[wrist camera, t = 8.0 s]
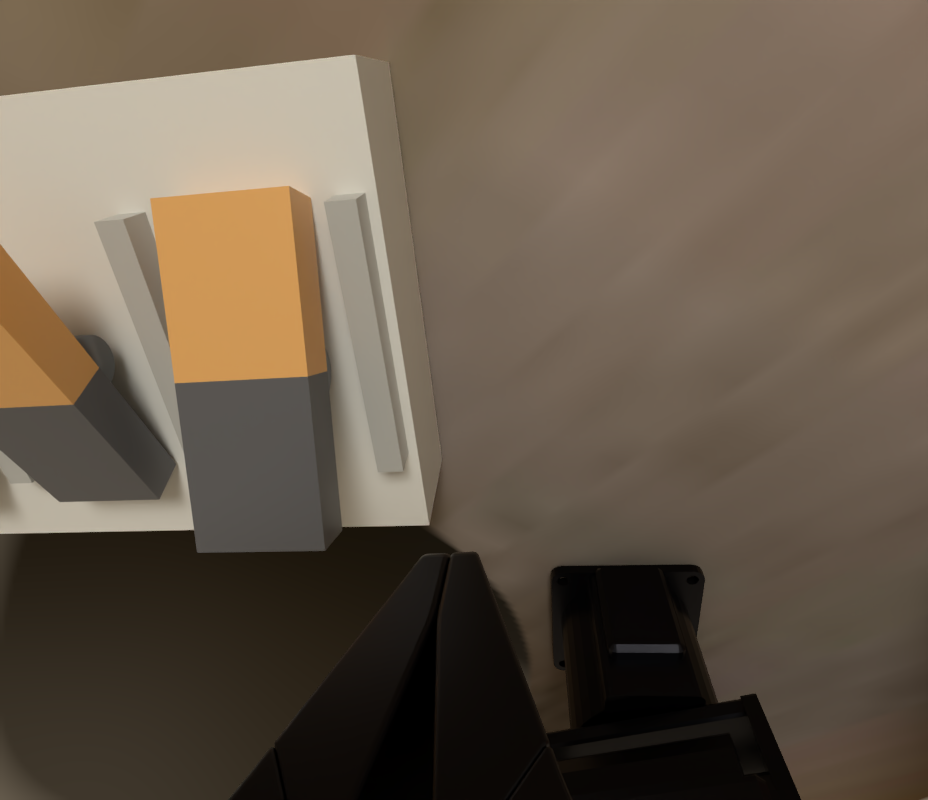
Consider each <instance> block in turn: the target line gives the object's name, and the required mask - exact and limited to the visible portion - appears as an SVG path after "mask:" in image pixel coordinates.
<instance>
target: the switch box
mask: <svg viewBox="0 0 928 800" xmlns="http://www.w3.org/2000/svg"><path fill="white" fill-rule="evenodd" d="M281 186H290V187H292V188H294V189H296V190H297V191H299V192H301V193H303V194H305V195H307V196H308V197H310V198H311V204H312V214H313V225H314V235H315V246H316V256H317V267H318V278H319V288H320V299H321V309H322V320H323V330H324V341H325V348H326V350H327V352H328V355H329V359H330V365H331V385H330V390H329V394H330V405H331V415H332V426H333V436H334V447H335V457H336V468H337V479H338V489H339V500H340V510H341V521H342V527H364V526H365V527H367V526H415V525H416V526H419V525H429V524H430V519H431V514H432V509H433V504H434V499H435V494H436V489H437V484H438V479H439V474H440V468H441V463H442V454H441V446H440V439H439V431H438V424H437V417H436V409H435V402H434V394H433V387H432V379H431V372H430V364H429V357H428V349H427V342H426V334H425V327H424V320H423V312H422V305H421V297H420V290H419V282H418V275H417V267H416V260H415V252H414V245H413V237H412V230H411V223H410V215H409V208H408V200H407V193H406V185H405V178H404V170H403V163H402V155H401V148H400V140H399V133H398V126H397V118H396V111H395V103H394V96H393V88H392V81H391V73H390V66H389V62H387V61H382V60H378V59H373V58H368V57H364V56H359V55H348V56H340V57H331V58H322V59H314V60H305V61H297V62H288V63H280V64H271V65H262V66H254V67H245V68H237V69H228V70H219V71H211V72H202V73H194V74H185V75H177V76H168V77H159V78H151V79H142V80H134V81H125V82H117V83H108V84H99V85H91V86H82V87H74V88H65V89H57V90H48V91H39V92H31V93H22V94H14V95H5V96H0V244H1V246H2V247H3V248H4V249H5V251H6V252H7V253H8V254H9V256H10V257H11V258H12V259H13V261H14V262H15V263H16V264H17V266H18V267H19V268H20V269H21V271H22V272H23V273H24V274H25V276H26V277H27V278H28V279H29V281H30V282H31V283H32V284H33V286H34V287H35V288H36V289H37V291H38V292H39V293H40V294H41V296H42V297H43V298H44V299H45V301H46V302H47V303H48V304H49V306H50V307H51V308H52V309H53V311H54V312H55V313H56V314H57V316H58V317H59V318H60V319H61V321H62V322H63V323H64V324H65V326H66V327H67V328H68V329H69V331H70V332H71V333H72V334H73V336H77V335H96V336H98V337H100V338H102V339H103V340H104V341H105V342H106V343H107V344H108V345H109V347H110V349H111V351H112V353H113V356H114V361H115V372H114V376H113V379H112V381H111V383H112V384H113V386H114V387H115V388H116V389H117V391H118V392H119V393H120V394H121V396H122V397H123V398H124V399H125V401H126V402H127V403H128V404H129V406H130V407H131V408H132V409H133V411H134V412H135V413H136V414H137V416H138V417H139V418H140V419H141V421H142V422H143V423H144V424H145V426H146V427H147V428H148V429H149V431H150V432H151V433H152V434H153V436H154V437H155V438H156V439H157V440H158V442H159V443H160V444H161V445H162V447H163V448H164V449H165V450H166V452H167V453H168V454H169V455H170V457H171V458H172V459H173V460H174V462H175V463H176V466H175V468H174V470H173V472H172V474H171V476H170V479H169V481H168V483H167V485H166V487H165V489H164V491H163V493H162V495H161V497H160V499H159V500H122V501H85V502H59V501H58V500H57V499H55V498H54V497H53V496H52V495H51V494H50V493H49V492H47V491H46V490H45V489H44V488H43V487H42V486H41V485H39V484H38V483H37V482H36V481H35V480H34V479H33V478H31V477H30V476H29V475H28V474H27V473H26V472H25V471H23V470H22V469H21V468H20V467H19V466H18V465H17V464H15V463H14V462H13V461H12V460H11V459H10V458H9V457H7V456H6V455H5V454H4V453H3V452H2V451H1V450H0V534H10V533H11V534H13V533H61V532H111V531H113V532H114V531H159V530H160V531H162V530H163V531H165V530H194V525H193V518H192V510H191V503H190V495H189V488H188V480H187V473H186V465H185V457H184V450H183V442H182V435H181V427H180V420H179V412H178V405H177V397H176V390H175V382H174V375H173V367H172V360H171V352H170V345H169V337H168V330H167V322H166V315H165V307H164V300H163V292H162V284H161V277H160V269H159V262H158V254H157V247H156V239H155V232H154V224H153V217H152V209H151V202H150V198H160V197H171V196H182V195H193V194H204V193H215V192H226V191H237V190H248V189H259V188H270V187H281Z"/></svg>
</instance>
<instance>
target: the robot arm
mask: <svg viewBox="0 0 928 800" xmlns="http://www.w3.org/2000/svg"><path fill="white" fill-rule="evenodd" d="M690 576H694V577H691V578H689V577H690ZM560 577H566V578H564V579H561V578H560ZM704 582H705V578H704V575H703V572H702V570H701V568H700V567H698V566H696V565H628V566H561V567H557V568H555V569H554V570H553V571H552V573H551V588H552V623H553V657H554V665H555V667H556V668H557V669H560V670H566V682H567V693H568V705H569V716H570V728H571V729H567V730H561V731H556V732H550V733H546V732H545V729H544V726H543V724H542V721H541V718H540V716H539V713H538V710H537V708H536V705H535V702H534V700H533V697H532V695H531V692H530V689H529V687H528V684H527V681H526V679H525V676H524V673H523V671H522V668H521V666H520V663H519V660H518V658H517V655H516V652H515V650H514V647H513V645H512V642H511V639H510V637H509V634H508V631H507V629H506V626H505V623H504V621H503V618H502V616H501V613H500V610H499V608H498V605H497V603H496V600H495V597H494V594H493V592H492V589H491V586H490V584H489V581H488V578H487V576H486V573H485V571H484V568H483V565H482V563H481V560H480V557H479V555H478V554H477V553H476V552H457V553H453V554H452V555H451V556H450V555H449V554H447V553H438V554H426V555H423V556H422V557H421V558H420V559H419V560H418V562H417V563H416V564H415V565H414V567H413V568H412V569H411V570H410V572H409V573H408V574H407V575H406V577H405V578H404V579H403V581H402V582H401V583H400V584H399V586H398V587H397V588H396V589H395V591H394V592H393V593H392V594H391V596H390V597H389V598H388V600H387V601H386V602H385V603H384V605H383V606H382V607H381V608H380V610H379V611H378V612H377V613H376V615H375V616H374V617H373V618H372V620H371V621H370V622H369V624H368V625H367V626H366V627H365V629H364V630H363V631H362V632H361V634H360V635H359V636H358V637H357V639H356V640H355V641H354V642H353V644H352V645H351V646H350V648H349V649H348V650H347V651H346V653H345V654H344V655H343V656H342V658H341V659H340V660H339V662H338V663H337V664H336V666H335V667H334V668H333V669H332V670H331V672H330V673H329V674H328V676H327V677H326V678H325V679H324V680H323V682H322V683H321V684H320V686H319V687H318V688H317V689H316V691H315V692H314V693H313V694H312V696H311V697H310V698H309V700H308V701H307V702H306V703H305V705H304V706H303V707H302V708H301V710H300V711H299V712H298V713H297V715H296V716H295V717H294V718H293V720H292V721H291V722H290V724H289V725H288V726H287V727H286V729H285V730H284V731H283V732H282V734H281V735H280V736H279V737H278V739H277V740H276V741H275V748H272V747H271V748H270V749H269V750H268V751H267V752H266V754H265V755H264V756H263V757H262V759H261V760H260V761H259V762H258V764H257V765H256V766H255V767H254V769H253V770H252V771H251V772H250V774H249V775H248V776H247V777H246V779H245V780H244V781H243V782H242V783H241V785H240V786H239V787H238V788H237V789H236V791H235V792H234V793H233V794H232V795H231V797H230V798H229V799H228V800H801V799H800V796H799V794H798V791H797V789H796V787H795V784H794V782H793V780H792V777H791V775H790V773H789V770H788V768H787V766H786V763H785V761H784V759H783V756H782V754H781V751H780V749H779V747H778V744H777V742H776V740H775V737H774V735H773V733H772V730H771V728H770V726H769V723H768V721H767V719H766V716H765V714H764V712H763V709H762V707H761V705H760V702H759V700H758V698H757V695H756V693H755V694H750V695H744V696H740V697H741V699H738V700H732V701H726V702H721V703H718V701H717V698H716V695H715V692H714V689H713V686H712V683H711V680H710V677H709V674H708V671H707V668H706V665H705V662H704V659H703V656H702V653H701V650H700V647H699V644H698V641H697V638H696V637H697V631H698V624H699V617H700V610H701V603H702V596H703V589H704Z"/></svg>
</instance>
